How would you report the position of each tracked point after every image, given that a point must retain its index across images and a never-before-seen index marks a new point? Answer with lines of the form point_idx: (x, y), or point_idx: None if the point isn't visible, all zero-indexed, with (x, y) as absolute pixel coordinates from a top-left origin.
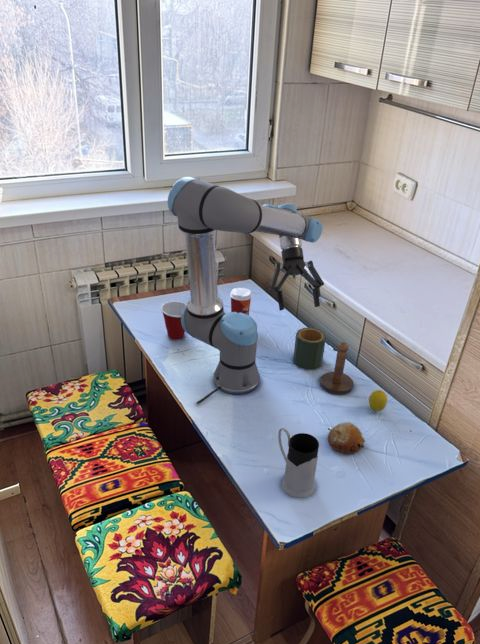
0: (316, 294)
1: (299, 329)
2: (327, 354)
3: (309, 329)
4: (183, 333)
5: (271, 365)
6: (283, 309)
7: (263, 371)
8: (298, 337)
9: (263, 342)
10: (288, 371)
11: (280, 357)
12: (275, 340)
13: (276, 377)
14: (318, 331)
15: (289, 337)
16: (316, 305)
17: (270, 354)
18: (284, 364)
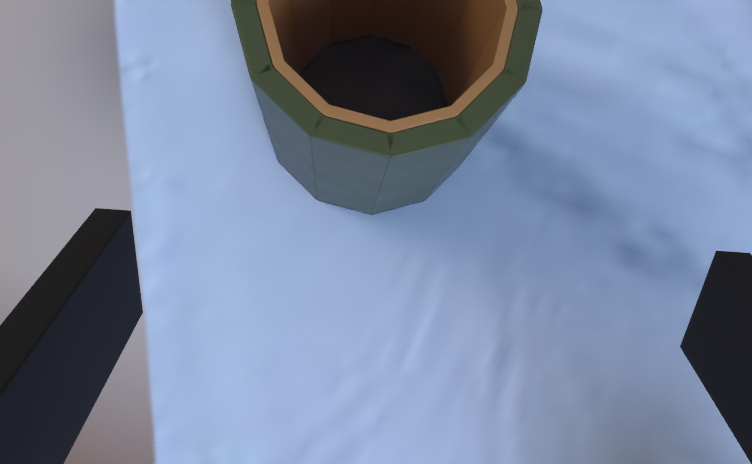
0: (43, 329)
1: (457, 140)
2: (181, 143)
3: (349, 111)
4: None
5: (635, 149)
6: (707, 278)
7: (711, 104)
8: (536, 4)
9: (584, 451)
10: (550, 49)
11: (537, 218)
12: (482, 451)
13: (652, 17)
14: (278, 39)
15: (353, 460)
16: (130, 266)
17: (593, 277)
18: (544, 131)
